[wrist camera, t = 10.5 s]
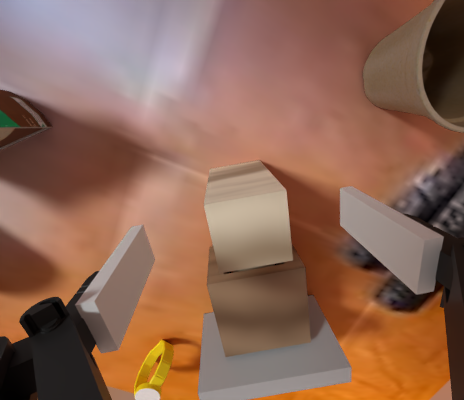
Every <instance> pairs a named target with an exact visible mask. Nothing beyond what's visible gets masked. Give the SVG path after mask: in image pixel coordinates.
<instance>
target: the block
mask: <svg viewBox="0 0 464 400" xmlns="http://www.w3.org/2000/svg"><path fill="white" fill-rule="evenodd" d="M291 244H292V243H291ZM292 254H293V260H292V261H287V262H281V263H276V265H274V266H269V267H263V268H257V269H252V270H246V271H240V272H235V273H229V272H224V273H219V269H218V265H217V261H216V256H215V252H214V247H213V246H212V247H210V249H209V262H208V276H207V287H208V291H209V295H210V299H211V303H212V307H213V311H214V314H215V318H216V322H217V326H218V330H219V334H220V338H221V342H222V346H223V349H224V353H225V357H230V356H235V355H241V354H247V353H253V352H259V351H264V350H270V349H276V348H282V347H287V346H293V345H299V344H305V343H311V336H310V323H309V309H308V296H307V282H306V269H305V266H304V264H303V262H302V261H301V259H300V257H299V255H298V254H297V252H296V250H295V248H294V247H293V245H292Z"/></svg>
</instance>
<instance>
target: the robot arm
mask: <svg viewBox="0 0 464 400" xmlns="http://www.w3.org/2000/svg"><path fill="white" fill-rule="evenodd" d="M340 226H341V227H343V228H344V229H345V230H346V231H347V232H348V233H349V234H350V235H351V236H352V237H354V238H355V239H356V240H357V241H358V242H359V243H360V244H361V245H362V246H363V247H365V248H366V249H367V250H368V251H369V252H370V253H371V254H372V255H373V256H375V257H376V258H377V259H378V260H379V261H380V262H381V263H382V264H383V265H384V266H386V267H387V268H388V269H389V270H390V271H391V272H392V273H393V274H394V275H395V276H397V277H398V278H399V279H400V280H401V281H402V282H403V283H404V284H405V285H406V286H408V287H409V288H410V289H411V290H412V291H413V292H414V293H415V294H416V295H417V294H423V293H428V292H433V291H434V287H435V282H436V280H437V281H438V282H440V283H441V284H442V285H444V289H443V294H442V299H441V304H440V307H443V308H444V312H445V323H446V335H447V346H448V357H449V368H450V379H451V389H452V400H464V238H458V239H457V238H456V237H454V236H452V235H450V234H448V233H446V232H444V231H442V230H440V229H438V228H436V227H433V225H431V224H429V223H426V222H425V221H423V220H421V219H419V218H417V217H415V216H411V215H408V214H401V213H400V212H398V211H396V210H394V209H392V208H390V207H389V206H387V205H385V204H383V203H381V202H379V201H378V200H376V199H374V198H372V197H370V196H368V195H367V194H365V193H363V192H361V191H359V190H358V189H356V188H354V187H352V186H350V187H344V188H340ZM154 261H155V258H154V255H153V252H152V249H151V246H150V243H149V240H148V237H147V234H146V232H145V229H144V226H143V225H138V226H133V227H131V228H130V230H129V231H128V232H127V234H126V235H125V237H124V238H123V239H122V241H121V242H120V243H119V245H118V246H117V248H116V249H115V250H114V252H113V253H112V254H111V256H110V257H109V259H108V260H107V261H106V263H105V264H104V266H103V267H102V268H101V270H100V271H96V272H95V273H93V274H92V275H91V276H90V277H88V278H87V279H86V281H85V282H84V283H83V285H82V286H81V288H80V289H79V290H78V291H77V294H75V295H74V296H73V298H72V299H71V300H70V302H69V303H68V304H67V306H66V307H65V305H64V304H63V302H62V300H61V299H60V298H59V297H52V298H48V299H45V300H43V301H40V302H39V303H37V304H35V305H34V306H32V307H31V308H29V309H28V310H27V311H26V312H25V313H24V314H23V315H22V316H21V318H20V321H19V322H20V324H21V325H22V327H23V328H24V330H25V331H26V333H27V334H28V336H29V337H28V338H25V339H23V340H20V341H18V342H15V343H13V344H12V343H11V342H10V341H9V339H8V338H7V337H5V336H3V337H0V400H37V399H38V400H112V399H111V396H110V394H109V392H108V389H107V387H106V385H105V382H104V380H103V378H102V375H101V373H100V371H99V368H98V366H97V364H96V361H95V359H94V357H93V355H92V353H91V352H92V351H93V349H94V347H95V345H97V347H98V349H99V350H100V352H101V353H106V352H111V351H116V350H119V348H120V345H121V343H122V340H123V338H124V335H125V333H126V330H127V328H128V325H129V323H130V320H131V318H132V316H133V313H134V311H135V308H136V306H137V303H138V301H139V298H140V296H141V293H142V291H143V288H144V286H145V283H146V281H147V278H148V276H149V273H150V271H151V268H152V266H153V264H154Z"/></svg>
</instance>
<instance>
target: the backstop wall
mask: <svg viewBox="0 0 464 400" xmlns="http://www.w3.org/2000/svg"><path fill="white" fill-rule="evenodd" d="M308 309H309V323H310V336H311V343H305V344H299V345H293V346H287V347H282V348H276V349H270V350H264V351H259V352H253V353H247V354H241V355H235V356H230V357H225V353H224V349H223V346H222V342H221V338H220V334H219V330H218V326H217V322H216V318H215V314H214V312H212V313H206V314H204V320H203V333H202V346H201V359H200V372H199V385H198V395H199V398H200V400H247V399H253V398H259V397H265V396H271V395H277V394H282V393H288V392H294V391H300V390H306V389H312V388H317V387H323V386H329V385H335V384H341V383H347V382H351V366H350V364H349V362H348V360H347V358H346V356H345V354H344V352H343V350H342V348H341V347H340V345H339V343H338V341H337V339H336V337H335V335H334V333H333V331H332V329H331V328H330V326H329V324H328V322H327V320H326V318H325V316H324V314H323V312H322V310H321V308H320V307H319V305H318V303H317V301H316V299H315V297H314V295H309V296H308Z"/></svg>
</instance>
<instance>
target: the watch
mask: <svg viewBox="0 0 464 400" xmlns="http://www.w3.org/2000/svg"><path fill="white" fill-rule="evenodd" d="M173 353H174V351H173V345H171V344H170V343H168V342H166V341H164V340H160V342H159V343H158V344H157V345H156V346H155V347H154V348H153V349H152V350H151V351H150V352H149V353H148V355H147V357H146V358H145V360H144V362H143V364H142V366H141V368H140V371H139V373H138V376H137V379H136V382H135V387H134V395H135V396H134V397H135V400H159V399H160V395H161V388H160V387H161V386H162V384H163V382H164V381H165V379H166V376H167V374H168V372H169V369H170V367H171V366H170V365H171V363H172V359H173V355H174V354H173ZM161 354H162V356H161V360H160V363H159V365H158V367H157V369H156V372H155V374H154V375H153V377H152V379H151V380H150V382H147V379H148V377H149V374H150V372H151V369H152V367H153V365H154V364H155V362H156V360H157V358H158V357H159V356H160V355H161Z"/></svg>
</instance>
